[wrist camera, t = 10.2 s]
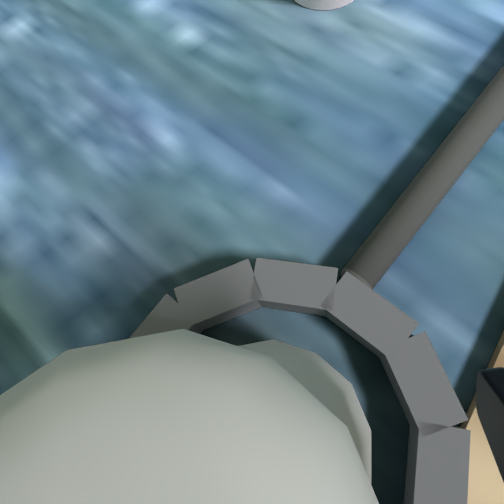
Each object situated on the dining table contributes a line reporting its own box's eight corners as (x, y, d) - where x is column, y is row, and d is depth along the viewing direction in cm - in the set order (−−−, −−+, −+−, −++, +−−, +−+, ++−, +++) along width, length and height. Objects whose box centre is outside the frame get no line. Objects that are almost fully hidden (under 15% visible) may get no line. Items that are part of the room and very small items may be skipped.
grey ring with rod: (304, 737, 13) (303, 779, 12) (48, 457, 16) (22, 463, 15) (748, 94, 16) (788, 66, 15) (462, -38, 20) (473, -72, 18)
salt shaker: (167, 384, 17) (-286, 372, 4) (319, 321, 16) (312, 117, 4) (225, 565, 15) (-273, 1479, 2) (396, 496, 15) (800, 1092, 2)
